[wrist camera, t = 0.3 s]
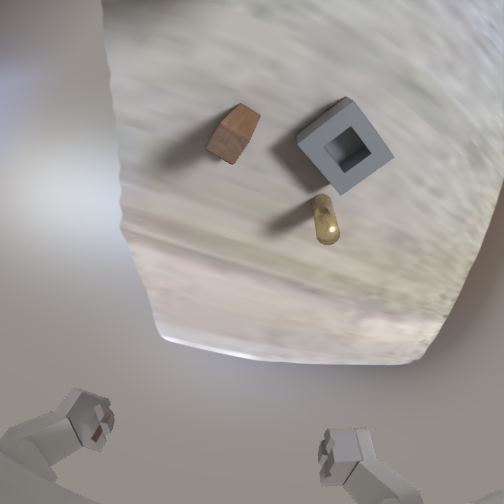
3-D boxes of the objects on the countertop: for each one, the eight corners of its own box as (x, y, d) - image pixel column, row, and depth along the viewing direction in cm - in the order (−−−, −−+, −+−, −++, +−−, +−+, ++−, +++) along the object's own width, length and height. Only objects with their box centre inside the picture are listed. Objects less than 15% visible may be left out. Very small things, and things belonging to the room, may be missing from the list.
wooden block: (235, 153, 56) (216, 192, 41) (215, 141, 55) (188, 176, 40) (261, 115, 51) (251, 139, 36) (240, 102, 50) (220, 121, 35)
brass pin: (323, 190, 58) (330, 220, 48) (335, 204, 60) (344, 236, 50) (307, 201, 60) (311, 233, 50) (319, 215, 61) (325, 248, 52)
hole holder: (346, 96, 47) (353, 101, 41) (383, 146, 51) (394, 157, 46) (295, 135, 52) (297, 144, 47) (335, 181, 57) (340, 195, 51)
